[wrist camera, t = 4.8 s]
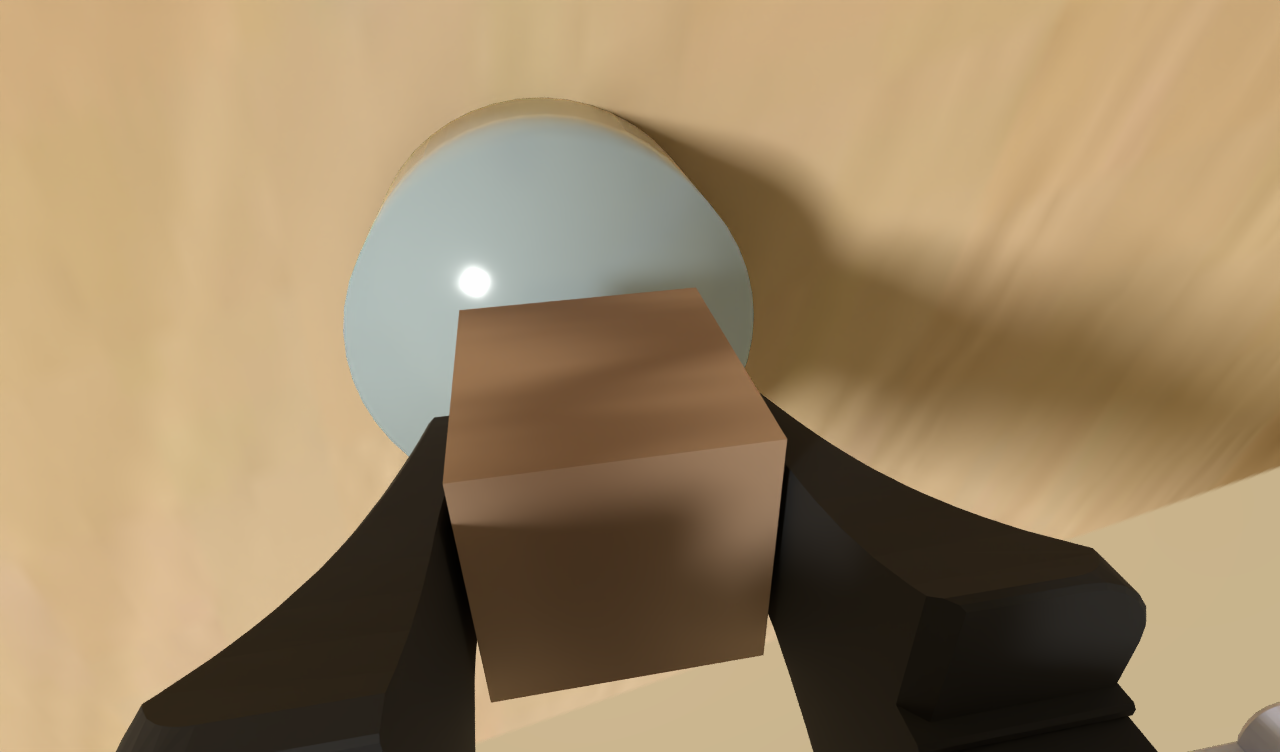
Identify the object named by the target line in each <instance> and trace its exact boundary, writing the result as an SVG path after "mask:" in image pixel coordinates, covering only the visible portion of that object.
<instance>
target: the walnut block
mask: <svg viewBox="0 0 1280 752" xmlns="http://www.w3.org/2000/svg"><path fill="white" fill-rule="evenodd" d="M786 445H787V438H786V436H785V435H784V433H783V431H782V430H781V428H780V426H779V425H778V423H777V421H776V420H775V418H774V416H773V415H772V413H771V411H770V410H769V408H768V406H767V405H766V403H765V402H764V400H763V398H762V397H761V395H760V393H759V392H758V390H757V388H756V387H755V385H754V383H753V382H752V380H751V378H750V377H749V375H748V373H747V372H746V370H745V368H744V367H743V365H742V363H741V362H740V360H739V358H738V357H737V355H736V353H735V352H734V350H733V348H732V347H731V345H730V343H729V342H728V340H727V338H726V337H725V335H724V333H723V332H722V330H721V328H720V327H719V325H718V323H717V322H716V320H715V318H714V317H713V315H712V313H711V312H710V310H709V308H708V307H707V305H706V303H705V302H704V300H703V298H702V297H701V295H700V293H699V292H698V290H697V288H696V287H695V288H684V289H674V290H664V291H653V292H643V293H632V294H622V295H612V296H601V297H591V298H581V299H570V300H560V301H549V302H539V303H529V304H518V305H508V306H497V307H487V308H477V309H466V310H459V318H458V328H457V339H456V349H455V360H454V370H453V381H452V391H451V401H450V412H449V422H448V433H447V443H446V454H445V464H444V475H443V488H444V492H445V497H446V501H447V506H448V510H449V515H450V519H451V524H452V528H453V533H454V537H455V542H456V546H457V551H458V556H459V560H460V565H461V569H462V574H463V578H464V583H465V587H466V592H467V596H468V601H469V605H470V610H471V614H472V619H473V623H474V628H475V632H476V637H477V641H478V646H479V650H480V655H481V659H482V664H483V668H484V673H485V677H486V682H487V686H488V691H489V695H490V700H491V702H497V701H502V700H508V699H514V698H520V697H525V696H531V695H537V694H543V693H548V692H554V691H560V690H566V689H571V688H577V687H583V686H589V685H594V684H600V683H606V682H612V681H617V680H623V679H629V678H635V677H640V676H646V675H652V674H657V673H663V672H669V671H675V670H680V669H686V668H692V667H698V666H703V665H709V664H715V663H721V662H726V661H731V660H738V659H743V658H749V657H755V656H761V655H763V653H764V645H765V636H766V627H767V618H768V609H769V599H770V590H771V581H772V572H773V563H774V554H775V545H776V536H777V527H778V518H779V509H780V500H781V490H782V481H783V472H784V463H785V454H786Z"/></svg>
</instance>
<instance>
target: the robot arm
mask: <svg viewBox="0 0 1280 752" xmlns="http://www.w3.org/2000/svg"><path fill="white" fill-rule="evenodd" d="M760 395H761V397H762V398H763V400H764V402H765V403H766V405H767V406H768V408H769V410H770V411H771V413H772V415H773V416H774V418H775V420H776V421H777V423H778V425H779V426H780V428H781V430H782V431H783V433H784V435H785V436H786V438H787V445H786V454H785V463H784V472H783V481H782V490H781V500H780V509H779V518H778V527H777V536H776V545H775V554H774V563H773V572H772V581H771V590H770V599H769V609H768V615H769V617H770V620H771V622H772V625H773V627H774V630H775V633H776V636H777V639H778V642H779V644H780V648H781V651H782V654H783V656H784V659H785V662H786V665H787V668H788V671H789V674H790V677H791V681H792V684H793V687H794V690H795V693H796V696H797V700H798V703H799V706H800V709H801V712H802V715H803V719H804V722H805V725H806V728H807V732H808V735H809V738H810V742H811V745H812V749H813V752H1157V750H1156V749H1155V748H1154V747H1153V746H1152V745H1151V743H1150V742H1149V741H1148V740H1147V738H1146V737H1145V736H1144V735H1143V733H1141V731H1140V730H1139V729H1138V728H1137V726H1136V725H1135V724H1134V723H1133V721H1132V720H1131V719H1130V718H1129V717H1128V716H1130V715H1133V713H1134V712H1135V710H1136V709H1135V705H1134V702H1133V701H1132V700H1131V698H1130V697H1129V696H1128V695H1127V694H1126V693H1125V691H1124V690H1123V689H1122V688H1121V687H1120V686H1119V684H1118V683H1117V682H1118V680H1119V679H1120V677H1121V675H1122V673H1123V671H1124V669H1125V667H1126V666H1127V664H1128V662H1129V660H1130V658H1131V656H1132V654H1133V653H1134V651H1135V649H1136V647H1137V645H1138V644H1139V642H1140V639H1141V637H1142V634H1143V631H1144V629H1145V625H1146V605H1145V604H1144V602H1143V600H1142V598H1141V596H1140V595H1139V594H1138V593H1137V591H1136V590H1135V589H1134V588H1133V587H1132V586H1130V584H1128V582H1126V581H1125V580H1124V579H1123V577H1121V576H1120V574H1118V572H1116V571H1115V570H1114V569H1113V568H1112V567H1111V566H1110V565H1109V564H1108V563H1107V562H1106V561H1105V560H1104V559H1103V558H1102V557H1101V556H1100V555H1099V554H1098V553H1097V552H1096V551H1095V550H1094V549H1093V548H1090V547H1086V546H1082V545H1078V544H1074V543H1071V542H1067V541H1063V540H1059V539H1055V538H1051V537H1048V536H1044V535H1040V534H1036V533H1032V532H1028V531H1025V530H1022V529H1018V528H1015V527H1012V526H1009V525H1006V524H1003V523H1000V522H997V521H994V520H991V519H988V518H985V517H982V516H979V515H976V514H973V513H971V512H968V511H965V510H962V509H960V508H957V507H955V506H952V505H950V504H947V503H945V502H943V501H940V500H938V499H935V498H933V497H930V496H928V495H926V494H923V493H921V492H919V491H917V490H914V489H912V488H910V487H908V486H906V485H904V484H902V483H900V482H898V481H896V480H894V479H892V478H890V477H888V476H886V475H884V474H882V473H880V472H878V471H876V470H874V469H872V468H871V467H869V466H867V465H865V464H863V463H862V462H860V461H858V460H856V459H855V458H853V457H852V456H850V455H848V454H847V453H845V452H843V451H842V450H840V449H839V448H837V447H835V446H834V445H832V444H831V443H829V442H827V441H826V440H824V439H823V438H821V437H820V436H818V435H817V434H815V433H814V432H813V431H811V430H810V429H808V428H807V427H805V426H804V425H803V424H801V423H800V422H798V421H797V420H795V419H794V418H793V417H791V416H790V415H789V414H787V413H786V412H785V411H783V410H782V409H781V408H779V407H778V406H776V405H775V404H774V403H772V402H771V401H770V400H768V399H767V398H766V397H764V396H763V395H762V394H760ZM448 422H449V416H442V417H434V418H433V419H432V420H431V422H430V423H429V424H428V426H427V428H426V429H425V431H424V433H423V435H422V436H421V438H420V440H419V441H418V443H417V445H416V446H415V448H414V450H413V451H412V453H411V454H410V456H409V458H408V459H407V461H406V462H405V464H404V465H403V467H402V468H401V470H400V471H399V473H398V474H397V476H396V477H395V479H394V480H393V482H392V483H391V485H390V486H389V487H388V489H387V490H386V492H385V493H384V494H383V496H382V497H381V499H380V500H379V501H378V502H377V504H376V505H375V506H374V508H373V509H372V510H371V511H370V513H369V514H368V515H367V516H366V518H365V519H364V520H363V522H362V523H361V524H360V525H359V527H358V528H357V529H356V530H355V531H354V533H353V534H352V535H351V536H350V537H349V538H348V540H347V541H346V542H345V543H344V544H343V545H342V546H341V547H340V549H339V550H338V551H337V552H336V553H335V554H334V555H333V556H332V557H331V558H330V559H329V560H328V561H327V562H326V563H325V564H324V566H323V567H322V568H321V569H320V570H319V571H317V572H316V573H315V574H314V575H313V576H312V577H311V578H310V579H309V580H308V581H306V582H305V583H304V584H303V585H302V586H301V587H300V588H299V589H298V590H297V591H295V592H294V593H293V594H292V595H291V596H290V597H289V598H288V599H287V600H286V601H284V602H283V603H282V604H281V605H280V606H279V607H278V608H276V609H275V610H274V611H273V612H272V613H270V614H269V615H268V616H267V617H265V618H264V619H263V620H262V621H261V622H259V623H258V624H257V625H256V626H254V627H253V628H252V629H251V630H249V631H248V632H247V633H245V634H244V635H243V636H241V637H240V638H239V639H237V640H236V641H235V642H233V643H232V644H231V645H229V646H228V647H227V648H225V649H224V650H223V651H221V652H220V653H218V654H217V655H216V656H214V657H213V658H211V659H210V660H209V661H207V662H206V663H204V664H203V665H201V666H200V667H198V668H197V669H195V670H194V671H192V672H191V673H189V674H188V675H186V676H185V677H183V678H182V679H180V680H179V681H177V682H176V683H174V684H173V685H171V686H170V687H168V688H167V689H165V690H164V691H162V692H161V693H159V694H158V695H156V696H154V697H153V698H151V699H150V700H148V701H146V702H145V703H143V704H142V705H141V707H140V709H139V711H138V712H137V714H136V716H135V718H134V720H133V721H132V723H131V725H130V726H129V728H128V730H127V731H126V733H125V735H124V737H123V738H122V740H121V742H120V744H119V747H118V749H117V751H116V752H475V659H476V647H477V637H476V632H475V628H474V623H473V619H472V614H471V610H470V605H469V601H468V596H467V592H466V587H465V583H464V578H463V574H462V569H461V565H460V560H459V556H458V551H457V546H456V542H455V537H454V533H453V528H452V524H451V519H450V515H449V510H448V506H447V501H446V497H445V492H444V488H443V475H444V464H445V454H446V443H447V433H448ZM1190 752H1280V702H1277V703H1275V704H1272V705H1269V706H1266V707H1265V708H1263V709H1261V710H1260V711H1258V712H1256V713H1255V714H1254V715H1253V716H1252V717H1251V718H1250V719H1249V720H1248V721H1247V723H1246V724H1245V725H1244V726H1243V728H1242V730H1241V732H1240V733H1239V735H1238V741H1236V742H1231V743H1227V744H1223V745H1217V746H1213V747H1208V748H1203V749H1199V750H1194V751H1190Z"/></svg>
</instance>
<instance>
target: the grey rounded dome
mask: <svg viewBox="0 0 1280 752" xmlns="http://www.w3.org/2000/svg"><path fill="white" fill-rule="evenodd" d="M695 287H696V288H697V290H698V292H699V293H700V295H701V297H702V298H703V300H704V302H705V303H706V305H707V307H708V308H709V310H710V312H711V313H712V315H713V317H714V318H715V320H716V322H717V323H718V325H719V327H720V328H721V330H722V332H723V333H724V335H725V337H726V338H727V340H728V342H729V343H730V345H731V347H732V348H733V350H734V352H735V353H736V355H737V357H738V358H739V360H740V362H741V363H742V365H743V367H744V368H745V366H746V363H747V360H748V355H749V351H750V346H751V341H752V334H753V320H754V311H753V297H752V289H751V285H750V280H749V276H748V271H747V268H746V265H745V263H744V260H743V257H742V255H741V252H740V250H739V247H738V245H737V243H736V242H735V240H734V238H733V236H732V235H731V233H730V231H729V229H728V227H727V226H726V224H725V223H724V222H723V220H722V219H721V218H720V217H719V215H718V214H717V213H716V211H715V210H714V209H713V208H712V206H711V205H710V204H709V203H708V201H707V200H706V199H705V198H704V197H703V195H702V194H701V193H700V192H699V191H698V189H697V188H696V187H695V186H694V185H693V183H692V182H691V181H690V180H689V179H688V177H687V176H686V175H685V174H684V173H683V171H682V170H681V169H680V168H679V167H678V165H677V164H676V163H675V162H674V161H673V159H672V158H671V157H670V156H669V155H668V154H667V152H665V151H664V150H663V149H662V148H661V147H660V146H659V145H658V144H657V143H656V142H655V141H654V140H653V139H652V138H651V137H650V136H648V135H647V134H646V133H644V132H643V131H641V130H640V129H639V128H637V127H636V126H635V125H633V124H632V123H630V122H628V121H626V120H624V119H622V118H620V117H619V116H617V115H615V114H613V113H611V112H608V111H605V110H603V109H600V108H597V107H595V106H592V105H588V104H584V103H580V102H575V101H571V100H565V99H553V98H526V99H515V100H510V101H505V102H500V103H495V104H491V105H489V106H486V107H483V108H480V109H477V110H474V111H471V112H469V113H467V114H465V115H463V116H461V117H459V118H458V119H456V120H454V121H452V122H450V123H448V124H447V125H445V126H444V127H443V128H441V129H440V130H438V131H437V132H436V133H434V134H433V135H431V136H430V137H429V138H428V139H427V140H426V141H425V142H424V143H423V144H422V145H421V146H420V147H419V148H417V149H416V150H415V151H414V152H413V153H412V155H411V156H410V157H409V159H408V160H407V161H406V163H405V164H404V165H403V166H402V168H401V169H400V170H399V172H398V174H397V175H396V177H395V179H394V181H393V183H392V184H391V186H390V188H389V190H388V192H387V194H386V196H385V198H384V201H383V203H382V205H381V207H380V210H379V212H378V214H377V216H376V218H375V221H374V223H373V225H372V227H371V230H370V232H369V234H368V236H367V239H366V241H365V243H364V245H363V248H362V250H361V252H360V254H359V257H358V259H357V262H356V265H355V267H354V270H353V273H352V275H351V278H350V281H349V286H348V291H347V296H346V301H345V306H344V329H343V333H344V341H345V350H346V357H347V361H348V364H349V368H350V371H351V375H352V379H353V381H354V384H355V386H356V388H357V390H358V392H359V395H360V397H361V399H362V401H363V403H364V405H365V406H366V408H367V409H368V411H369V413H370V414H371V416H372V417H373V419H374V420H375V422H376V423H377V424H378V426H379V427H380V428H381V429H382V430H383V432H384V433H385V434H386V435H387V436H388V437H389V439H390V440H391V441H392V442H393V443H394V444H396V445H397V446H398V447H399V448H400V449H401V450H402V451H403V452H404V453H405V454H407V455H408V456H410V454H411V453H412V451H413V450H414V448H415V446H416V445H417V443H418V441H419V440H420V438H421V436H422V435H423V433H424V431H425V429H426V428H427V426H428V424H429V423H430V422H431V420H432V419H433V418H434V417H442V416H449V412H450V401H451V391H452V381H453V370H454V360H455V349H456V339H457V328H458V318H459V310H466V309H477V308H487V307H497V306H508V305H518V304H529V303H539V302H549V301H560V300H570V299H581V298H591V297H601V296H612V295H622V294H632V293H643V292H653V291H664V290H674V289H684V288H695Z"/></svg>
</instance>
